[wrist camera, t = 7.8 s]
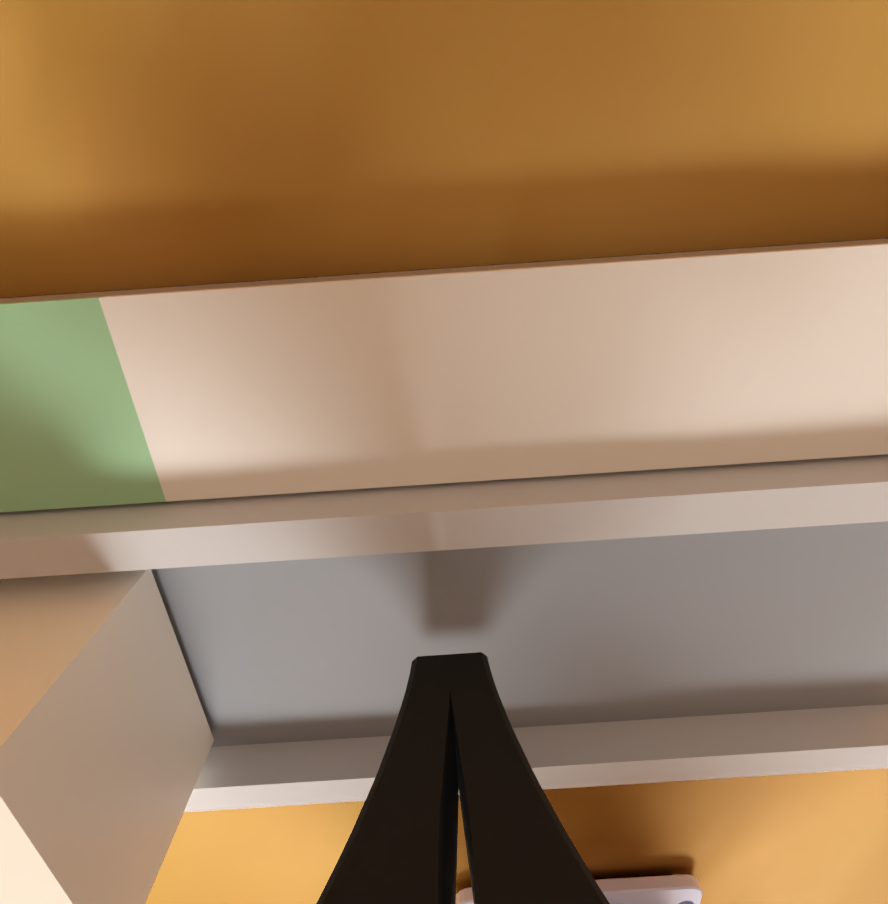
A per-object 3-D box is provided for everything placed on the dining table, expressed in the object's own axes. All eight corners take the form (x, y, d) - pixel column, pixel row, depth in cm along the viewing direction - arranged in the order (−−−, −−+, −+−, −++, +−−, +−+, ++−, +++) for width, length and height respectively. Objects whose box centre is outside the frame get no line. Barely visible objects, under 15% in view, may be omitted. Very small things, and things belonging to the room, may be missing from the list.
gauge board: (844, 710, 14) (1050, 953, 9) (-33, 766, 14) (-263, 1033, 9) (1026, 228, 9) (1678, 231, 4) (-341, 321, 9) (-1160, 422, 4)
